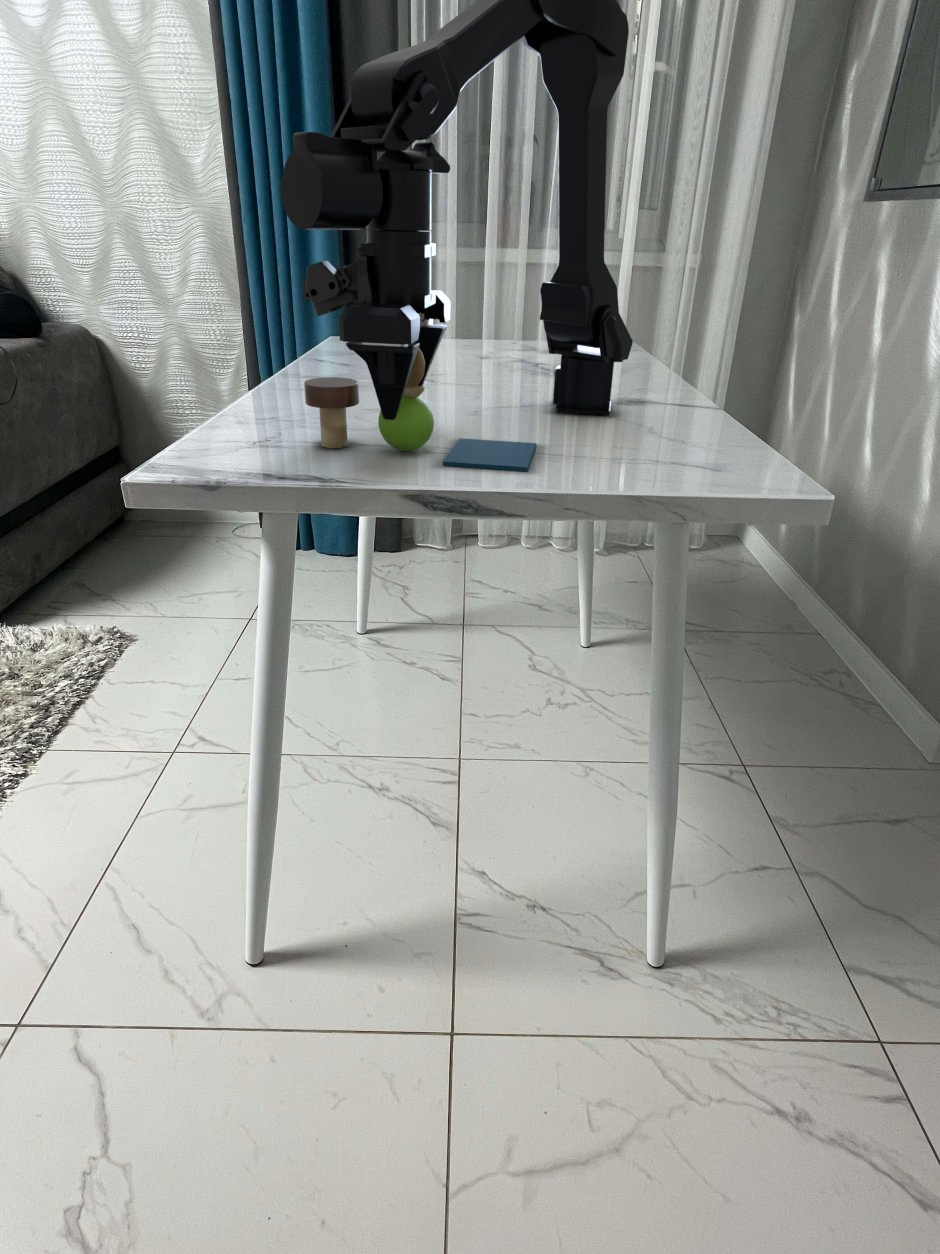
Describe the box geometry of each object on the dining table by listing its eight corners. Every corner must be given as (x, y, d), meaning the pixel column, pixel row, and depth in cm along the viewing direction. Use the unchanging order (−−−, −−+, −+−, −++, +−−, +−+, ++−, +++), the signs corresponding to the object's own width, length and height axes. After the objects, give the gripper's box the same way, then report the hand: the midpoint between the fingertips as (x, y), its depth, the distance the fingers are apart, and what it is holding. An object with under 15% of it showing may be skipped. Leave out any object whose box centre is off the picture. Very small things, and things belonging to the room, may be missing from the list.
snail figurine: (401, 438, 85) (399, 316, 79) (445, 450, 81) (446, 322, 75) (361, 447, 81) (356, 320, 76) (405, 460, 77) (403, 327, 72)
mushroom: (366, 440, 84) (364, 378, 81) (352, 453, 79) (349, 388, 76) (318, 437, 84) (314, 375, 81) (301, 450, 80) (296, 385, 77)
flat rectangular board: (536, 447, 83) (536, 443, 83) (527, 471, 75) (527, 467, 75) (459, 441, 84) (459, 438, 84) (442, 465, 76) (442, 461, 76)
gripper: (342, 226, 81) (349, 386, 88) (272, 229, 65) (287, 425, 72) (452, 230, 79) (450, 392, 87) (408, 233, 63) (410, 433, 70)
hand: (401, 408), depth 79 cm, fingers open, 9 cm apart
